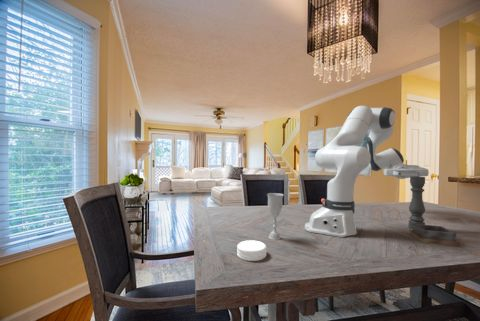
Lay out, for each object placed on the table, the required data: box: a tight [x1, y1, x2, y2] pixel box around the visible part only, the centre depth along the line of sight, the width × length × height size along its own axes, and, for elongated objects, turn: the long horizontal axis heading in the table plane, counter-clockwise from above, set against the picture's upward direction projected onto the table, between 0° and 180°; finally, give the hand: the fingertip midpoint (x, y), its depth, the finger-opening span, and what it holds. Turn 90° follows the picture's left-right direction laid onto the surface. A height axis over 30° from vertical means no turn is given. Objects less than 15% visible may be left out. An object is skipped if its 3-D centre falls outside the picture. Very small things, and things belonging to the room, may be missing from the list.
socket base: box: [409, 224, 461, 247], centre depth 93 cm, size 12×12×4 cm
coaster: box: [236, 239, 267, 262], centre depth 76 cm, size 10×10×4 cm
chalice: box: [266, 192, 284, 241], centre depth 93 cm, size 7×7×18 cm
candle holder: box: [408, 176, 426, 230], centre depth 108 cm, size 6×6×25 cm
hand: (409, 173), depth 118 cm, fingers open, 8 cm apart
